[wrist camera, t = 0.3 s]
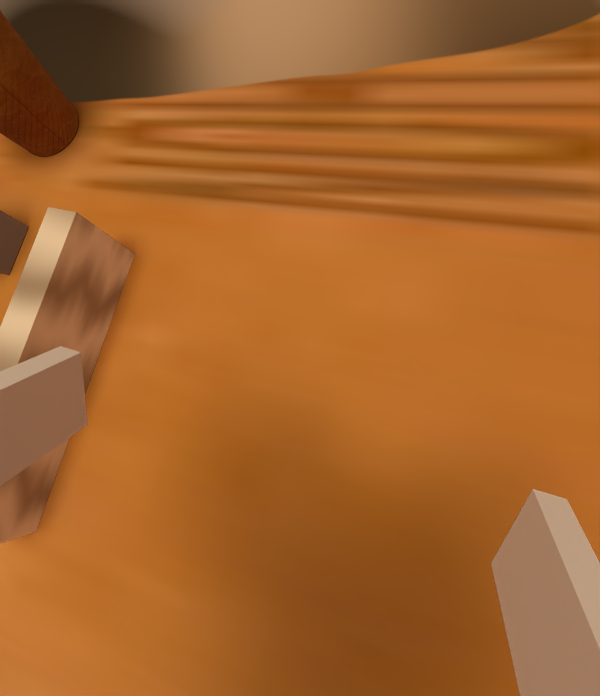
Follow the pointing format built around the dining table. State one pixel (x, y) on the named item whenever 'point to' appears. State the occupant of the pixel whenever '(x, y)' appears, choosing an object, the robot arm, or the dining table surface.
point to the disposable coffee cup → (31, 99)
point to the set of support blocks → (10, 241)
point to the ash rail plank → (57, 332)
